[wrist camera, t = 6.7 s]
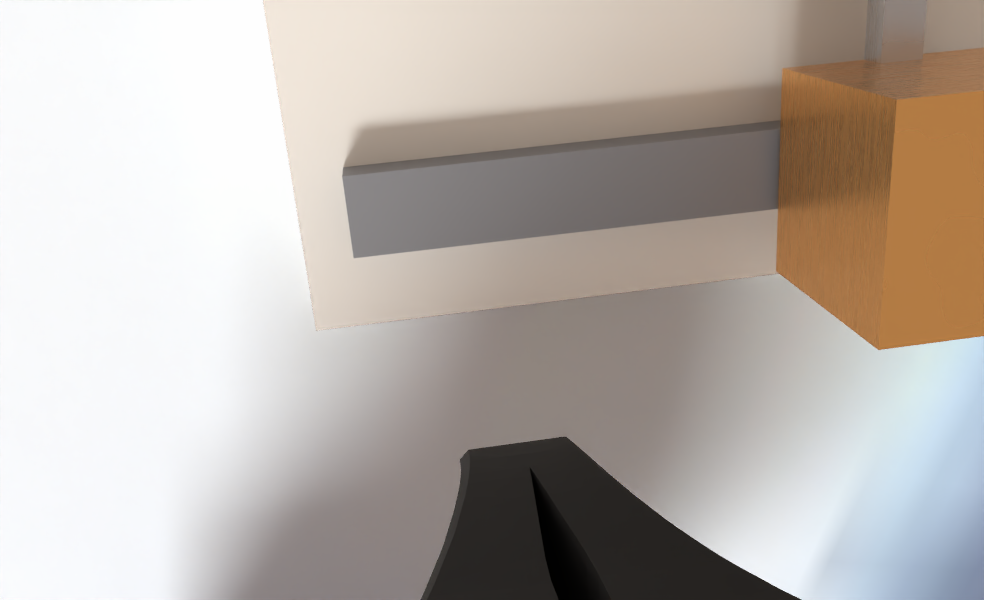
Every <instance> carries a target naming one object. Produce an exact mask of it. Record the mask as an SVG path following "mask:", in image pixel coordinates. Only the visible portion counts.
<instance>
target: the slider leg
mask: <svg viewBox="0 0 984 600" xmlns="http://www.w3.org/2000/svg"><path fill="white" fill-rule="evenodd" d="M926 11H927V0H868V5H867V22H866V38H865V55H864V60H857V61H847V62H837V63H828V64H818V65H808V66H798V67H789V68H782V89H781V122H780V155H779V188H778V221H777V254H776V271H777V272H778V273H779V274H781V275H782V276H783V277H784V278H786V279H787V280H788V281H790V282H791V283H792V284H794V285H795V286H796V287H797V288H799V289H800V290H801V291H803V292H804V293H805V294H806V295H808V296H809V297H810V298H812V299H813V300H814V301H816V302H817V303H818V304H819V305H821V306H822V307H823V308H825V309H826V310H827V311H829V312H830V313H831V314H832V315H834V316H835V317H836V318H838V319H839V320H840V321H841V322H843V323H844V324H845V325H847V326H848V327H849V328H851V329H852V330H853V331H854V332H856V333H857V334H858V335H860V336H861V337H862V338H864V339H865V340H866V341H867V342H869V343H870V344H871V345H873V346H874V347H875V348H876V349H878V350H881V349H889V348H896V347H904V346H911V345H919V344H926V343H934V342H941V341H949V340H956V339H964V338H972V337H979V336H984V48H974V49H965V50H955V51H945V52H935V53H925V54H923V47H924V35H925V23H926Z"/></svg>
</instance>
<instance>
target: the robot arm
mask: <svg viewBox="0 0 984 600" xmlns="http://www.w3.org/2000/svg"><path fill="white" fill-rule="evenodd" d="M460 463H461V480H460V487H459V492H458V497H457V501H456V506H455V510H454V513H453V516H452V520H451V523H450V526H449V529H448V533H447V536H446V539H445V542H444V545H443V548H442V551H441V553H440V556H439V558H438V560H437V563H436V565H435V568H434V570H433V572H432V575H431V577H430V580H429V582H428V584H427V587H426V589H425V592H424V594H423V596H422V598H421V600H801V599H799V598H797V597H795V596H793V595H791V594H789V593H787V592H785V591H783V590H781V589H779V588H777V587H775V586H773V585H771V584H769V583H768V582H766V581H764V580H762V579H760V578H758V577H757V576H755V575H753V574H751V573H749V572H747V571H746V570H744V569H742V568H740V567H738V566H736V565H735V564H733V563H731V562H730V561H728V560H726V559H725V558H723V557H721V556H720V555H718V554H716V553H715V552H713V551H711V550H710V549H708V548H707V547H705V546H704V545H702V544H701V543H699V542H698V541H696V540H695V539H693V538H692V537H690V536H689V535H687V534H686V533H684V532H683V531H681V530H680V529H678V528H677V527H675V526H674V525H673V524H671V523H670V522H669V521H667V520H666V519H664V518H663V517H662V516H660V515H659V514H658V513H657V512H655V511H654V510H653V509H651V508H650V507H649V506H648V505H646V504H645V503H644V502H642V501H641V500H640V499H639V498H637V497H636V496H635V495H633V494H632V493H631V492H630V491H629V490H627V489H626V488H625V487H624V486H623V485H621V484H620V483H619V482H618V481H617V480H615V479H614V478H613V477H612V476H611V475H610V474H608V473H607V472H606V471H605V470H604V469H603V468H602V467H600V466H599V465H598V464H597V463H596V462H595V461H594V460H592V459H591V458H590V457H589V456H588V455H587V454H586V453H585V452H583V451H582V450H581V449H580V448H579V447H578V446H576V445H575V444H574V443H573V442H572V441H570V440H569V439H568V438H567V437H559V438H552V439H545V440H537V441H530V442H523V443H515V444H508V445H501V446H494V447H486V448H479V449H472V450H468V451H467V452H466V453H465V454H464V456H463V457H462V458H461V459H460Z"/></svg>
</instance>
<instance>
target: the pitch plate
mask: <svg viewBox="0 0 984 600" xmlns="http://www.w3.org/2000/svg"><path fill="white" fill-rule="evenodd" d="M263 4H264V10H265V16H266V22H267V29H268V35H269V41H270V47H271V53H272V60H273V66H274V72H275V78H276V84H277V91H278V97H279V103H280V109H281V115H282V122H283V128H284V134H285V140H286V146H287V152H288V159H289V165H290V171H291V177H292V183H293V190H294V196H295V202H296V208H297V214H298V221H299V227H300V233H301V239H302V245H303V252H304V258H305V264H306V270H307V276H308V283H309V289H310V295H311V301H312V307H313V313H314V320H315V326H316V331H318V330H326V329H334V328H342V327H350V326H358V325H366V324H374V323H382V322H391V321H399V320H407V319H415V318H423V317H431V316H439V315H447V314H455V313H464V312H472V311H480V310H488V309H496V308H504V307H512V306H520V305H528V304H537V303H545V302H553V301H561V300H569V299H577V298H585V297H593V296H601V295H610V294H618V293H626V292H634V291H642V290H650V289H658V288H666V287H674V286H683V285H691V284H699V283H707V282H715V281H723V280H731V279H739V278H747V277H756V276H764V275H772V274H779V273H778V272H777V271H776V254H777V221H778V188H779V155H780V122H781V89H782V68H789V67H798V66H808V65H818V64H828V63H837V62H847V61H857V60H864V55H865V38H866V22H867V5H868V0H263ZM974 48H984V0H927V11H926V23H925V35H924V47H923V54H925V53H935V52H945V51H955V50H965V49H974Z"/></svg>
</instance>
